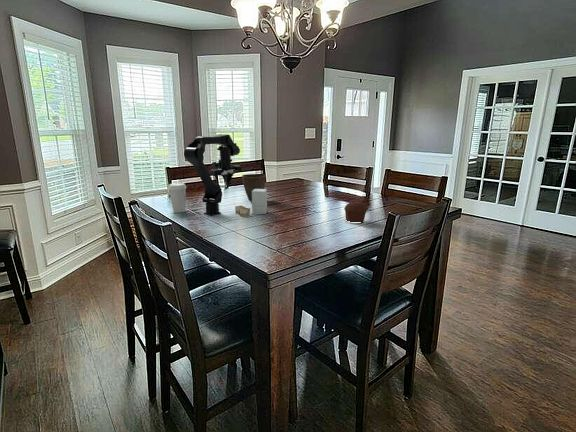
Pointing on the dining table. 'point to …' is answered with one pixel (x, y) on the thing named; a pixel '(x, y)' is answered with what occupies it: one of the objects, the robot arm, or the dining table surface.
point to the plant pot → (253, 183)
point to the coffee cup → (178, 197)
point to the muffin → (355, 211)
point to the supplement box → (259, 201)
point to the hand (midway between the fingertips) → (227, 185)
